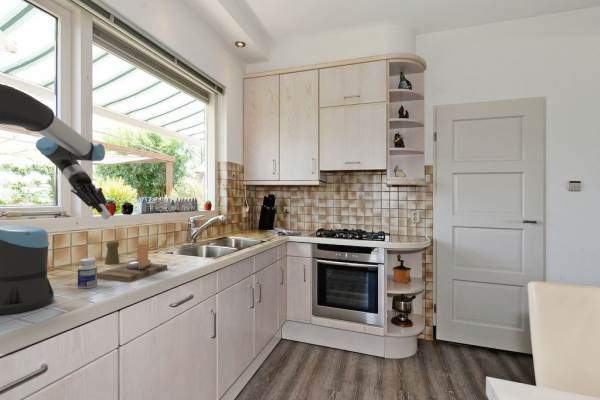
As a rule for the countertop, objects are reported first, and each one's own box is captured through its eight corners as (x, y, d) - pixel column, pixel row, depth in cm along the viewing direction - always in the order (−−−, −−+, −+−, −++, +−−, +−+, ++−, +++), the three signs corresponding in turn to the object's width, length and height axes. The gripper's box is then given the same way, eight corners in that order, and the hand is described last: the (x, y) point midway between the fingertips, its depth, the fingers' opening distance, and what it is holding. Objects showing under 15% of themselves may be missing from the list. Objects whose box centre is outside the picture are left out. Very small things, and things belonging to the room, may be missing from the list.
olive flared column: (122, 262, 144) (122, 240, 144) (113, 265, 138) (113, 242, 138) (111, 261, 145) (111, 239, 145) (101, 264, 139) (102, 241, 139)
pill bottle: (82, 284, 107) (82, 257, 107) (99, 284, 108) (100, 257, 108) (74, 289, 101) (74, 261, 101) (92, 288, 103) (93, 260, 103)
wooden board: (128, 282, 112) (128, 276, 112) (94, 278, 115) (95, 272, 115) (167, 269, 133) (167, 264, 133) (137, 266, 137) (138, 261, 137)
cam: (154, 270, 121) (155, 243, 121) (130, 273, 116) (130, 244, 116) (147, 261, 137) (147, 237, 137) (125, 263, 132) (125, 238, 132)
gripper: (87, 184, 134) (115, 222, 130) (57, 182, 121) (88, 224, 117) (96, 172, 132) (125, 210, 128) (67, 169, 120) (98, 211, 116)
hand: (107, 217), depth 123 cm, fingers closed
